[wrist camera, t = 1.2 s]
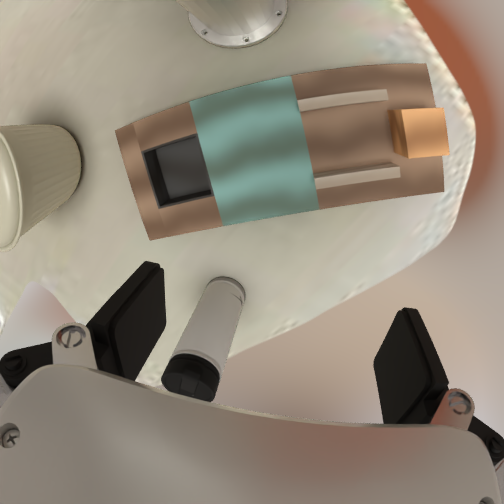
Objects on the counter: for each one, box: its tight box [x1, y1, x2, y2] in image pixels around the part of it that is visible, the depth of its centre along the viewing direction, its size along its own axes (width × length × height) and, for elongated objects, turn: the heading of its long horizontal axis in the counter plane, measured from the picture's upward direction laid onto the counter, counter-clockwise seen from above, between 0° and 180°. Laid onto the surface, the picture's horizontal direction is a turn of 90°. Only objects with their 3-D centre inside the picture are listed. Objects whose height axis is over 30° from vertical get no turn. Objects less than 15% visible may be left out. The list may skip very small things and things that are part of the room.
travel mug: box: [161, 277, 245, 402], centre depth 37 cm, size 6×7×20 cm
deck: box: [115, 64, 444, 240], centre depth 32 cm, size 16×40×7 cm, turn 104°
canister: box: [0, 124, 81, 252], centre depth 31 cm, size 18×18×21 cm
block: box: [387, 108, 449, 159], centre depth 26 cm, size 5×5×5 cm
